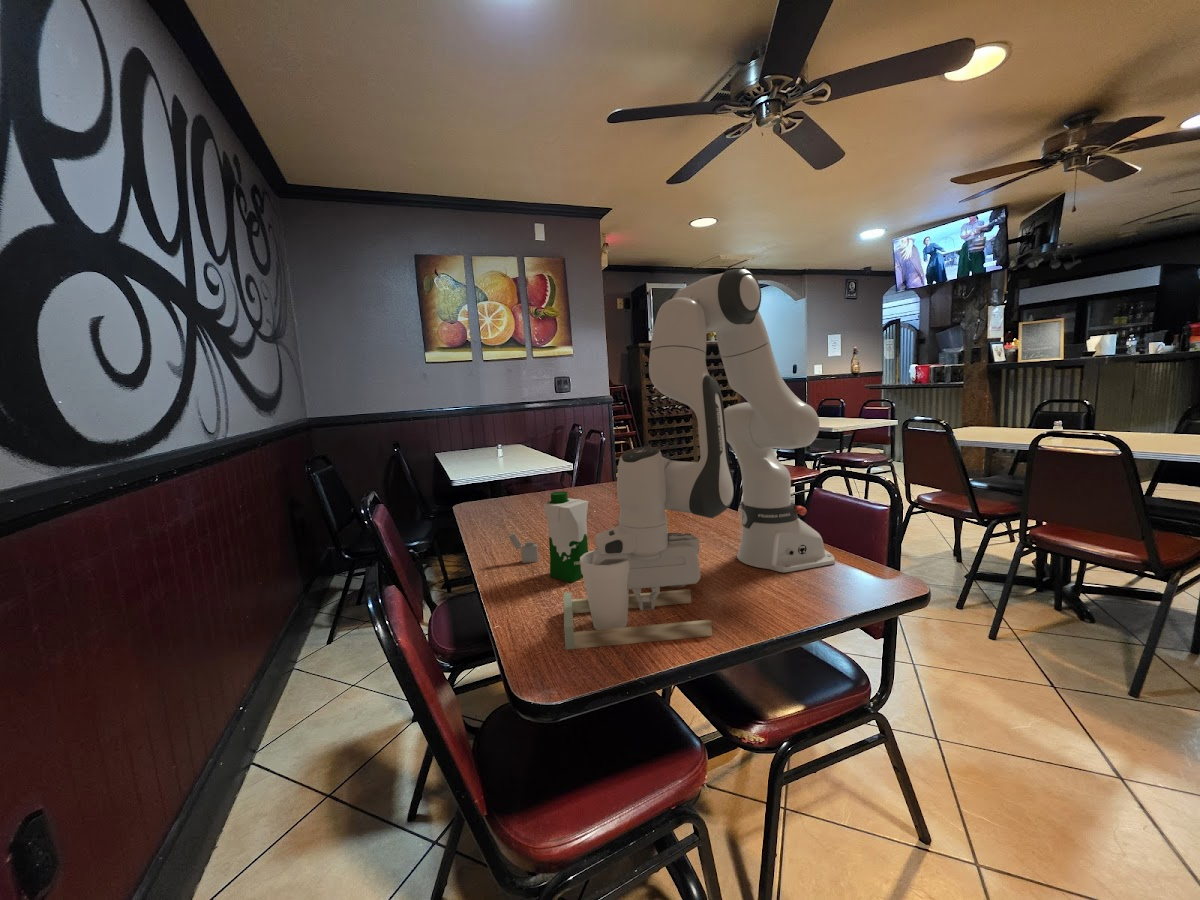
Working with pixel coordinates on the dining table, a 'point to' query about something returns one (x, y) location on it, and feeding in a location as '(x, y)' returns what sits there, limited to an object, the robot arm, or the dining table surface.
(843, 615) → the dining table surface
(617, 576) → the foam cup
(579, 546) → the milk carton
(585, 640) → the guide channel
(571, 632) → the stop block
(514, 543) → the lighter
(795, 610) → the dining table surface
